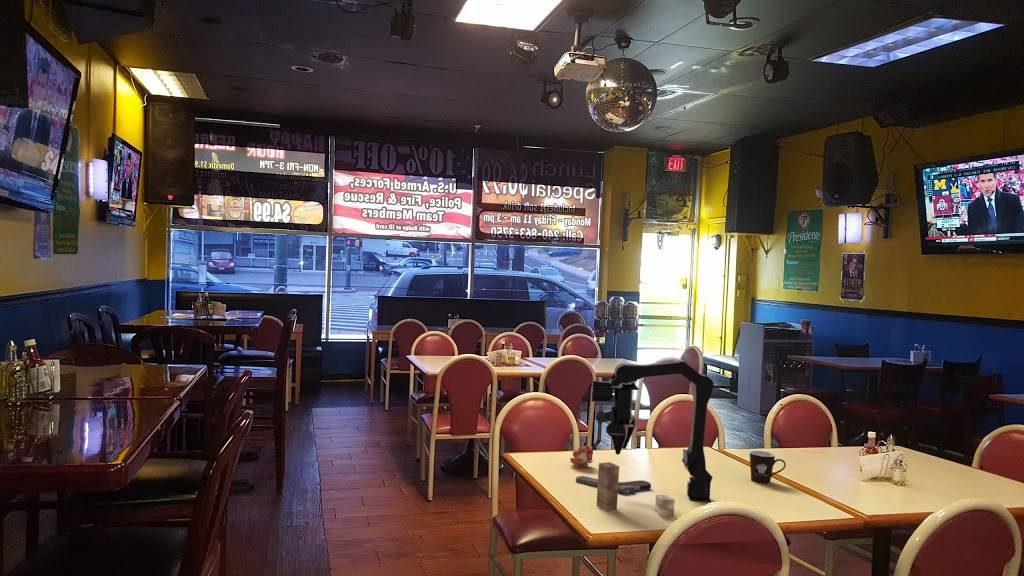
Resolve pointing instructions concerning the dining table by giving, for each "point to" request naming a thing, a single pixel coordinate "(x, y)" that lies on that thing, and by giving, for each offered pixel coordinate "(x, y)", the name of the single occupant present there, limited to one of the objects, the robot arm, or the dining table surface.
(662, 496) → the maple block
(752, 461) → the coffee mug
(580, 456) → the flower
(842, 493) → the dining table surface
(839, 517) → the dining table surface
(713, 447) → the dining table surface
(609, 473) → the walnut block
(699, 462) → the robot arm
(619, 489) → the handgun
